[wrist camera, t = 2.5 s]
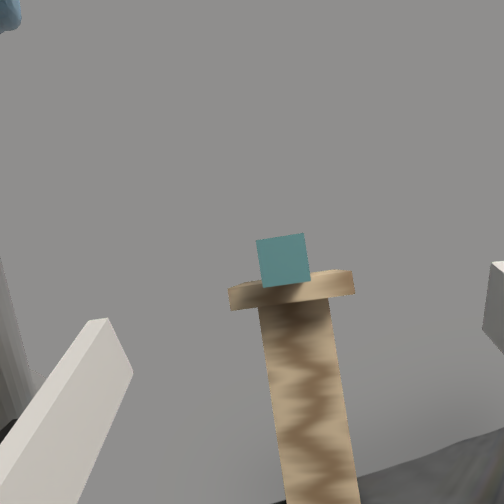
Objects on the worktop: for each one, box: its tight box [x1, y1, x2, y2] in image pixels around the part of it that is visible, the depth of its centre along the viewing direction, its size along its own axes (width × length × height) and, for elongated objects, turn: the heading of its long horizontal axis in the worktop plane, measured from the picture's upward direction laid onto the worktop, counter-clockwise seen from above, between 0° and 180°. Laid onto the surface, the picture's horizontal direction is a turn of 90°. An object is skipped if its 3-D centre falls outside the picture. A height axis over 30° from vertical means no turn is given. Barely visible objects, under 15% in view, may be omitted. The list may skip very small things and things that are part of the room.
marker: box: [256, 233, 311, 288], centre depth 32 cm, size 3×21×3 cm, turn 173°
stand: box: [228, 269, 361, 504], centre depth 36 cm, size 11×12×30 cm
